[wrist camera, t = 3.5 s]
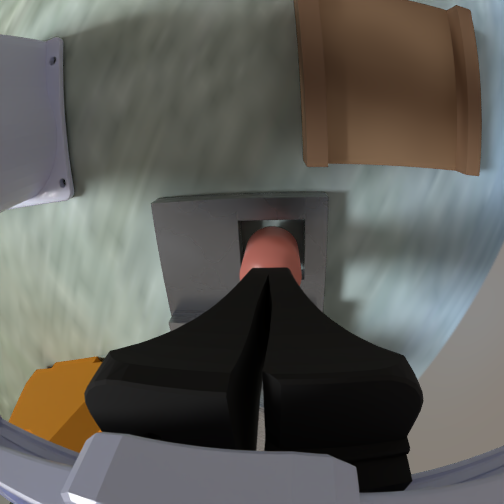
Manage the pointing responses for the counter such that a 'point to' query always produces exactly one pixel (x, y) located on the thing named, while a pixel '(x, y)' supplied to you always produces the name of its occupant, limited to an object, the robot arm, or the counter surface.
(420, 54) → the brown piece
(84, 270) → the counter surface
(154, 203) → the socket block
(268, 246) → the button
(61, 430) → the bracket
